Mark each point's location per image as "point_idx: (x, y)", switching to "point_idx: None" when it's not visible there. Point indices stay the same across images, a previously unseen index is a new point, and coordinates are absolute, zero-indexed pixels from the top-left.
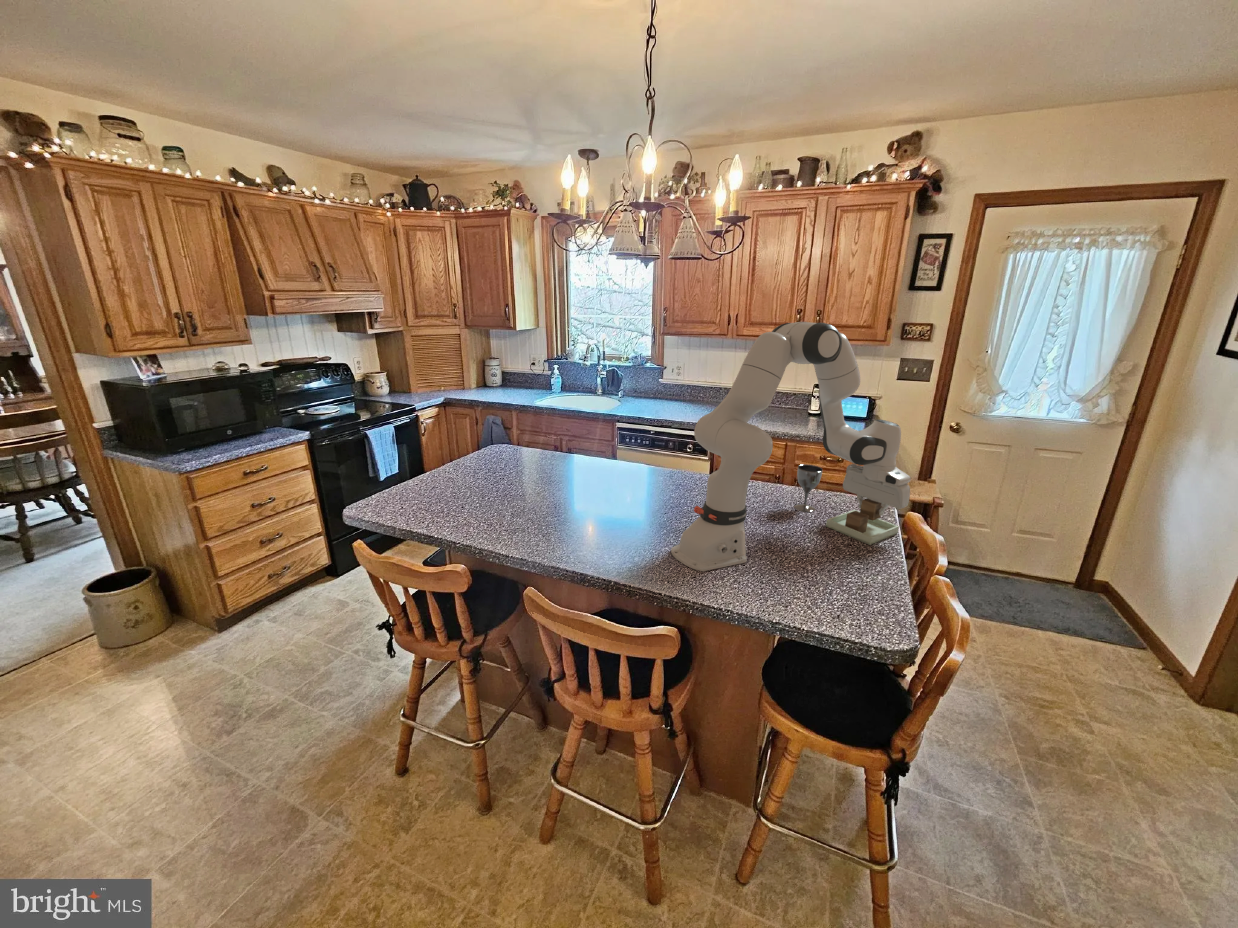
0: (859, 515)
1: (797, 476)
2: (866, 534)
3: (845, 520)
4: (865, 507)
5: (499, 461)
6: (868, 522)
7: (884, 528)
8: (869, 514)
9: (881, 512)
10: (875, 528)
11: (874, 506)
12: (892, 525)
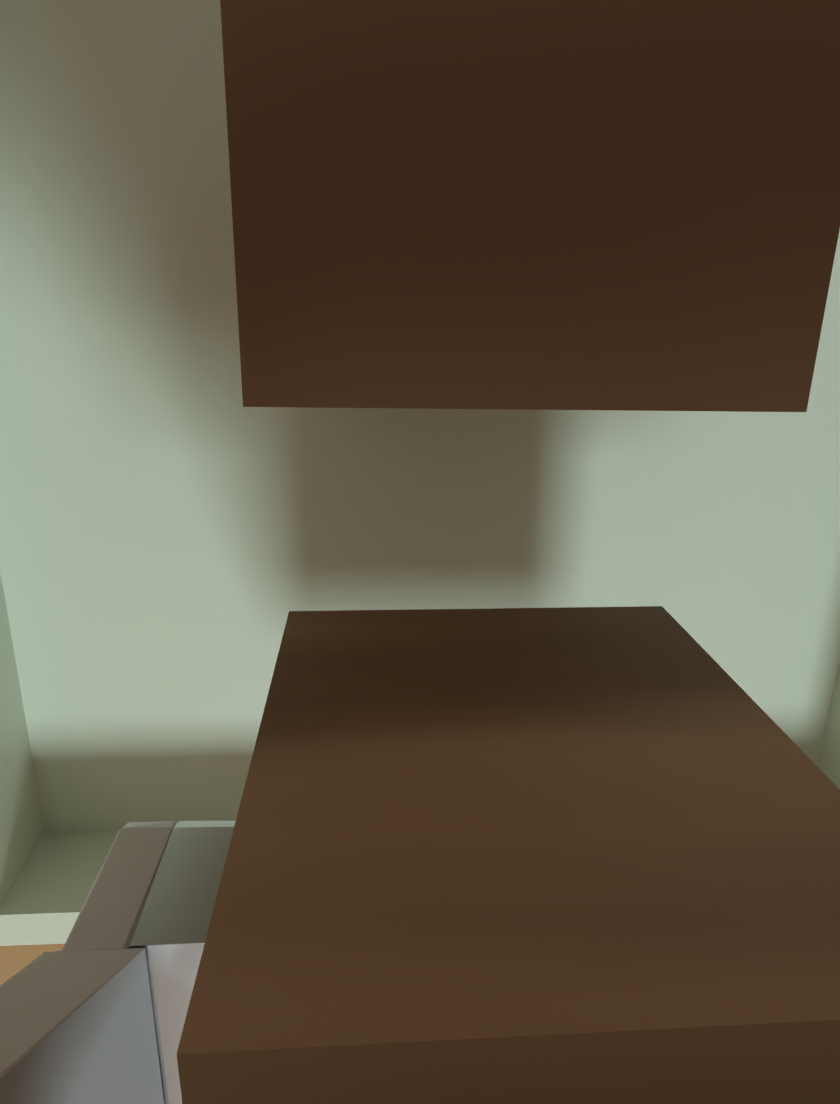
0: (476, 73)
1: None
2: (207, 228)
3: (833, 494)
4: (634, 778)
5: None
6: None
7: (213, 788)
8: (406, 676)
9: (97, 931)
10: None
11: (242, 938)
12: (75, 898)
